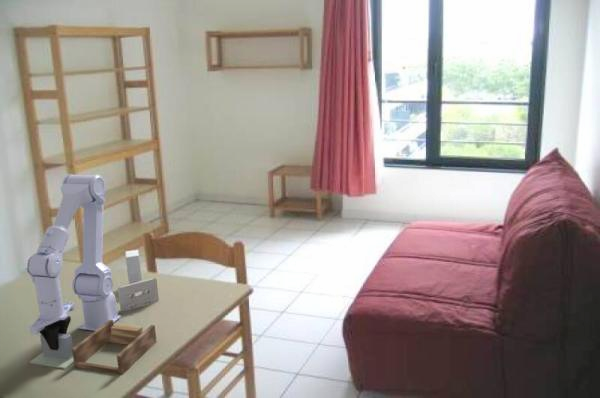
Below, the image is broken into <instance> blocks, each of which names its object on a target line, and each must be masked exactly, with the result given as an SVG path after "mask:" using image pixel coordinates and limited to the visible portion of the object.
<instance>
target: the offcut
mask: <svg viewBox="0 0 600 398" xmlns="http://www.w3.org/2000/svg"><path fill="white" fill-rule="evenodd" d="M111 332H112V333H110V334H109V335H110V341H109V342H110V343H113V344H114V343H115V344H123V345H129V344H130V343H132V342H133V341H134V340H135V339H136V338H137V337H138V336H140V335H141V334H142V333H143V332H144V330H143V326H137V325H130V324H121V323H115V324H114V326H113V327H112V328H111Z"/></svg>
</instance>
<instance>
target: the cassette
mask: <svg viewBox="0 0 600 398" xmlns="http://www.w3.org/2000/svg"><path fill="white" fill-rule="evenodd" d="M157 280H158V279H157V278H156V277H151V278H148V279H143V280H142V281H140V282H136V283H133V284H129V283H128V284H126V285H121V286H119V287H117V292H118V300H119V309H120V311H121V312H125V311H129V310H132V309H133V310H134V309H137V308H140V307H143V306H147V305H151V304H153V303H155V302H159V301H160V297H159V289H158V281H157ZM139 292H142V293H139ZM136 293H139V294H136Z"/></svg>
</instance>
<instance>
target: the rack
mask: <svg viewBox="0 0 600 398" xmlns="http://www.w3.org/2000/svg"><path fill="white" fill-rule="evenodd" d="M114 325H115V324H114V323H113V320H109V321H108V322H106V323H105V324H104V325H102V326H101V327H100V328H99V329H97V330H96V331H92V332H91V334H90V335H88V336H87V337H85V338H84V339H83V340H82V341H80V342H78V344H76V345H75V346H73V347H74V348H73V349H72V353H73V359H74V363H73V364H74V367H75V368H81V369H88V370H93V371H99V372H100V371H101V372H106V373H112V374H119V375H124V374H125V372H127V371H128V370H129V369H130V368H131V367H133V366H134V365H135V363H136V362H138V360H140V358H141V357H143V356H144V355H145V354H146V353H147V352H148V351H149V350H150V349H151V348H152V347H153V346H154V345H155V344H156V343H157V335H156V334H157V333H156V326H155V325H153V324H150V326H148V328H146V329H145V330H143V333H142V334H141V335H140V336H138V337H137V338H136V339H135V340H134V341H133V342H132V343H130V344H127V346H126V347H124V349H122V350H121V351H120V352H119V353H118V354H117V355H116V361H117V367H116V366H111V365H103V364H97V363H92V362H86V361H87V360H89V359H90V358H91V357H92V356H94V355H95V354H96V353H97V352H98V351H99V350H101V349H102V348H103V347H105V345H107V344H108V343H109V342H110V335H109V334H110V333H112V332H111V328H112V327H113V326H114ZM100 348H101V349H100ZM95 352H96V353H95ZM94 353H95V354H94ZM91 355H92V356H91ZM90 356H91V357H90ZM89 357H90V358H89ZM88 358H89V359H88Z"/></svg>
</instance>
